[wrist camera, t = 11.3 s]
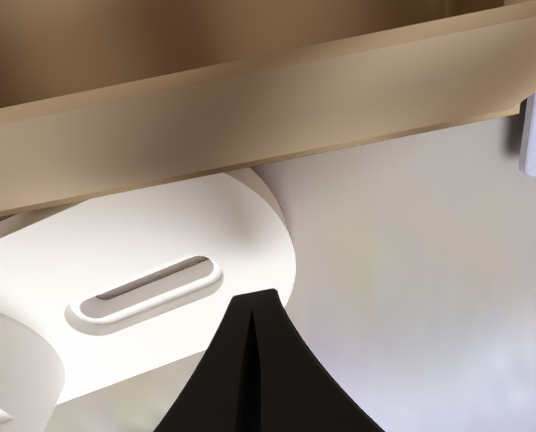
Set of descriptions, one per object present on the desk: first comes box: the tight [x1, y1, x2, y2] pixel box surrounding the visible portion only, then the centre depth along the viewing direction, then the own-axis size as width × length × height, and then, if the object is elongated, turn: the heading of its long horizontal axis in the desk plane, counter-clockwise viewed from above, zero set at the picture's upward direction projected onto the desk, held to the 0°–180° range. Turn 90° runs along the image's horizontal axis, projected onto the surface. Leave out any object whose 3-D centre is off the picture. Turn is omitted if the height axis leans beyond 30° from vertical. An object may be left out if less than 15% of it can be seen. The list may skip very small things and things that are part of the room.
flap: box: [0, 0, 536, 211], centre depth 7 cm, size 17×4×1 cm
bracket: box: [0, 167, 296, 432], centre depth 12 cm, size 20×9×7 cm, turn 113°
